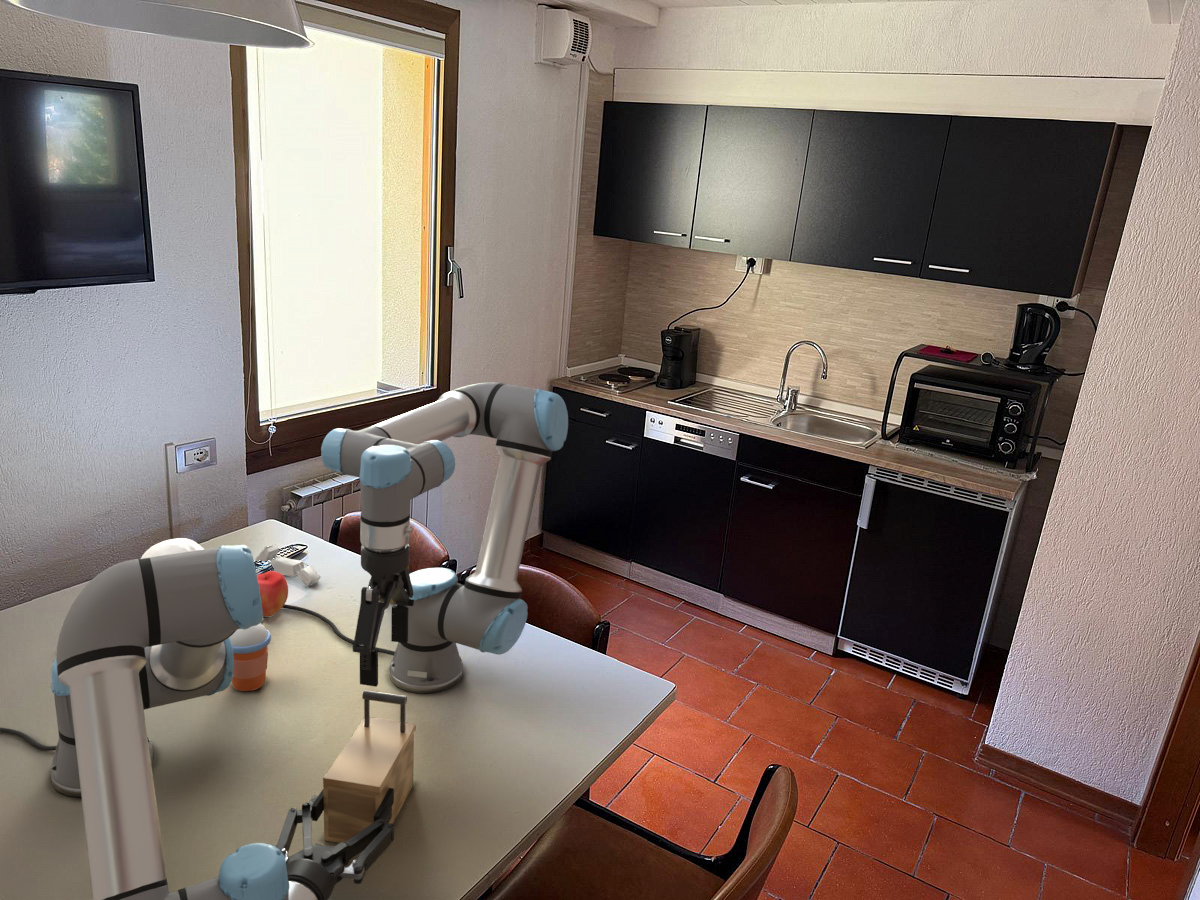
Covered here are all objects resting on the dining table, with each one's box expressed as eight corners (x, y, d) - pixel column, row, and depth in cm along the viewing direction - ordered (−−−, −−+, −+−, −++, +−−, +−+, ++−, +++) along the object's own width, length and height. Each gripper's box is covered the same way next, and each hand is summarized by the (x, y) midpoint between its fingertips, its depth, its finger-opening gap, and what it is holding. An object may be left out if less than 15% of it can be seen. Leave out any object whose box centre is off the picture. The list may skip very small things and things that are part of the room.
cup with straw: (256, 699, 169) (252, 618, 164) (214, 691, 170) (209, 610, 165) (281, 675, 177) (278, 597, 172) (242, 667, 179) (238, 590, 174)
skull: (204, 625, 194) (201, 560, 189) (125, 605, 199) (121, 542, 195) (243, 602, 206) (242, 541, 202) (168, 584, 212) (165, 524, 207)
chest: (362, 776, 150) (362, 725, 147) (413, 784, 149) (414, 733, 146) (324, 840, 135) (322, 784, 132) (379, 849, 134) (379, 793, 131)
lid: (364, 721, 148) (364, 681, 146) (416, 729, 147) (416, 689, 145) (322, 784, 132) (322, 740, 130) (379, 793, 131) (380, 749, 129)
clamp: (253, 565, 223) (254, 542, 221) (265, 560, 226) (266, 537, 224) (309, 593, 215) (310, 569, 213) (320, 588, 218) (321, 564, 216)
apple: (273, 600, 207) (272, 562, 204) (297, 613, 202) (296, 575, 199) (237, 614, 200) (234, 575, 197) (261, 628, 194) (259, 588, 191)
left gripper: (221, 909, 118) (297, 799, 139) (373, 936, 115) (427, 820, 137) (218, 865, 115) (296, 760, 137) (373, 892, 113) (428, 781, 134)
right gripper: (378, 580, 122) (378, 708, 129) (433, 517, 146) (431, 628, 152) (328, 573, 123) (330, 701, 129) (391, 512, 147) (390, 622, 153)
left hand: (361, 790), depth 137 cm, fingers closed on chest, 9 cm apart
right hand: (385, 662), depth 141 cm, fingers open, 13 cm apart
